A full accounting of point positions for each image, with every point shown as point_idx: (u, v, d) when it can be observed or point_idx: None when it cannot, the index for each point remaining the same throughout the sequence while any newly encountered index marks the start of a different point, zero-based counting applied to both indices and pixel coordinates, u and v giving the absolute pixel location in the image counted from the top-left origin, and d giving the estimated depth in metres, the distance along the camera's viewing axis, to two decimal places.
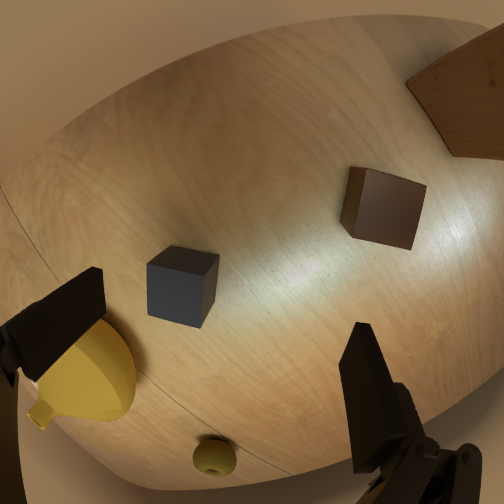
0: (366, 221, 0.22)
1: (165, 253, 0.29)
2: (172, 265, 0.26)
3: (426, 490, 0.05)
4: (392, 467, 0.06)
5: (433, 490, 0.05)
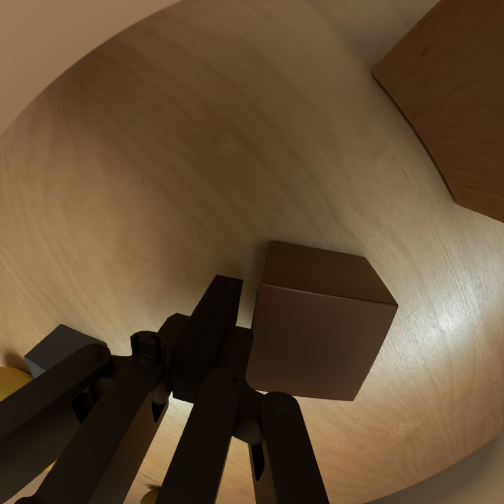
0: (265, 368, 0.12)
1: (48, 339, 0.19)
2: (46, 363, 0.17)
3: (240, 433, 0.07)
4: None
5: (249, 437, 0.07)
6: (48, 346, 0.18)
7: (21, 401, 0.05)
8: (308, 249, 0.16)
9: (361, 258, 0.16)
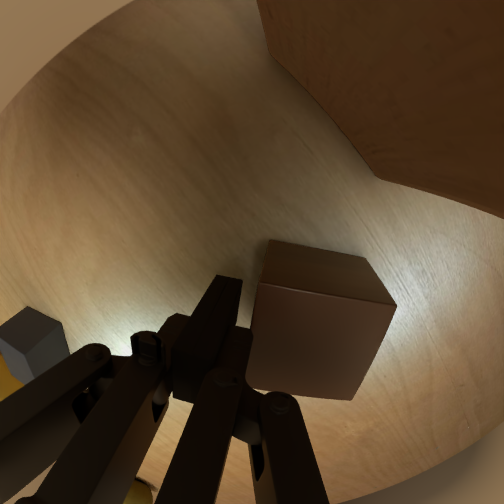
0: (264, 367, 0.12)
1: (15, 318, 0.20)
2: (9, 337, 0.17)
3: (241, 433, 0.07)
4: None
5: (249, 437, 0.07)
6: (13, 324, 0.19)
7: (21, 401, 0.05)
8: (308, 249, 0.16)
9: (361, 258, 0.16)
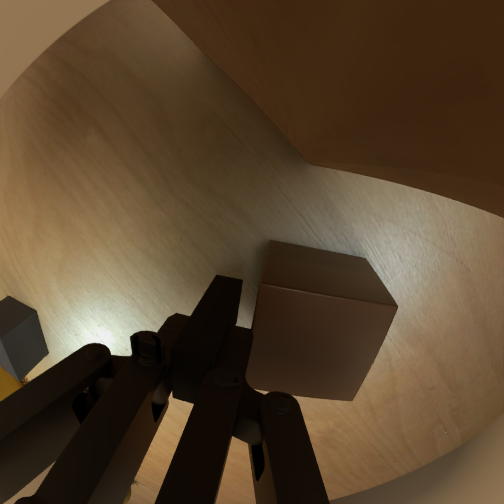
0: (265, 368, 0.12)
1: None
2: None
3: (241, 433, 0.07)
4: None
5: (249, 437, 0.07)
6: None
7: (21, 401, 0.05)
8: (309, 249, 0.16)
9: (361, 259, 0.16)
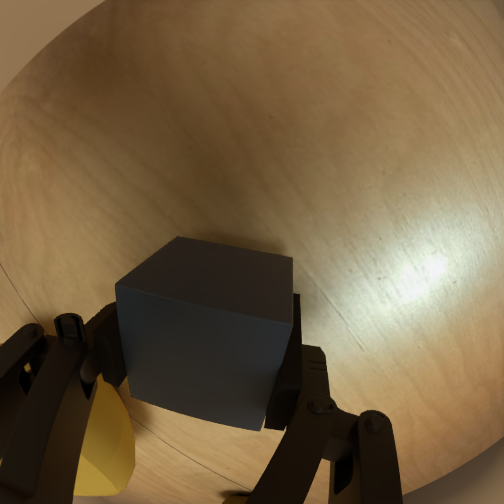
0: None
1: (167, 254, 0.12)
2: (190, 291, 0.09)
3: (331, 455, 0.07)
4: None
5: (339, 457, 0.07)
6: (174, 263, 0.11)
7: None
8: None
9: None
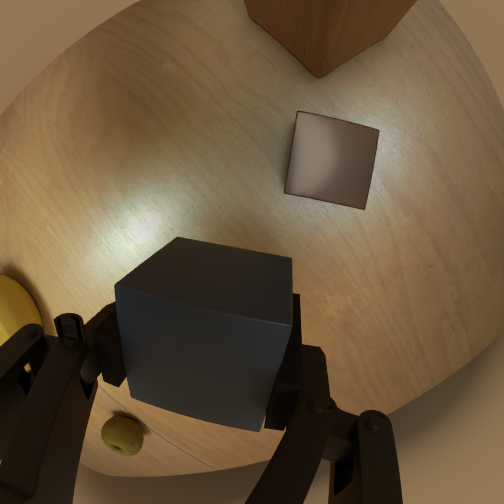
0: (301, 172, 0.18)
1: (166, 255, 0.12)
2: (189, 291, 0.09)
3: (331, 454, 0.07)
4: None
5: (339, 456, 0.07)
6: (174, 264, 0.11)
7: None
8: None
9: None
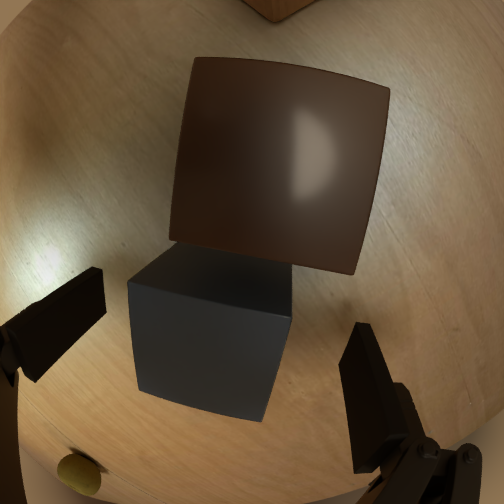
0: (202, 193, 0.08)
1: (174, 254, 0.12)
2: (197, 287, 0.10)
3: (426, 490, 0.05)
4: (392, 467, 0.06)
5: (433, 490, 0.05)
6: (182, 263, 0.12)
7: None
8: None
9: None
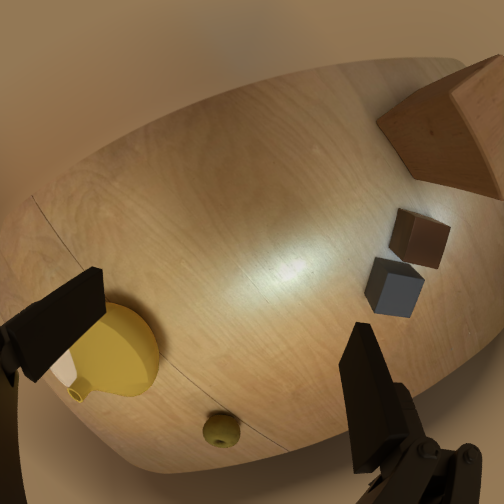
0: (412, 250, 0.31)
1: (384, 264, 0.35)
2: (402, 273, 0.33)
3: (427, 489, 0.05)
4: (392, 467, 0.06)
5: (433, 490, 0.05)
6: (390, 267, 0.34)
7: None
8: (413, 212, 0.34)
9: (430, 217, 0.34)
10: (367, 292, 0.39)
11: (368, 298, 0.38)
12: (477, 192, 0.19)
